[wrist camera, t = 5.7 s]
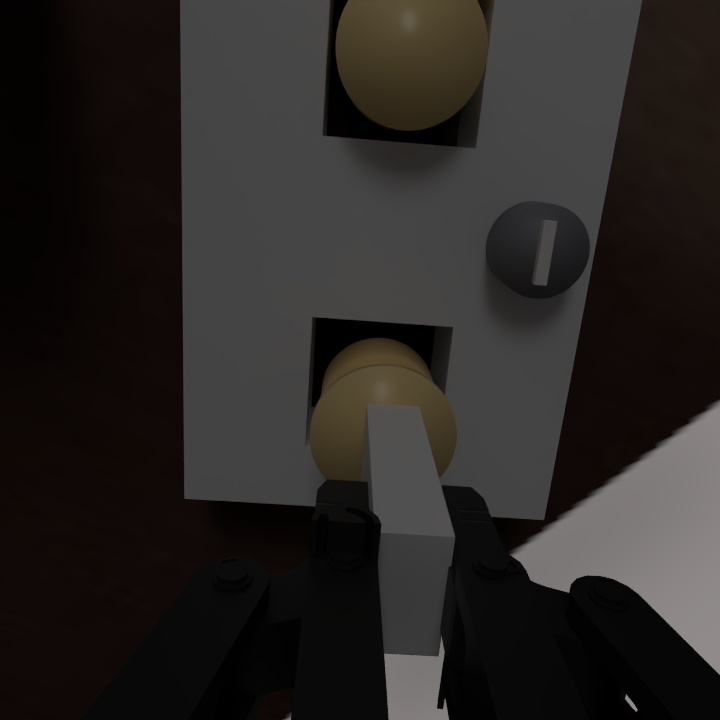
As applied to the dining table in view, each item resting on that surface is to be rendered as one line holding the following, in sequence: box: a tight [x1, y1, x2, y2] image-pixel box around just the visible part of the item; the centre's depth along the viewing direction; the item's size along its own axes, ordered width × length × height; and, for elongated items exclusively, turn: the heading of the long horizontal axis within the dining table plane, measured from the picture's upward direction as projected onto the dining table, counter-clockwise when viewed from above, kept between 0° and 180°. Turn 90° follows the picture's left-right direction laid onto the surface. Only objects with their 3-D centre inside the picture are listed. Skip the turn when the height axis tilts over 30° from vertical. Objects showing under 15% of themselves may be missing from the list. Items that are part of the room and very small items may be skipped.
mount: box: [180, 0, 642, 520], centre depth 22 cm, size 14×21×6 cm, turn 176°
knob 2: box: [310, 338, 457, 481], centre depth 20 cm, size 4×4×4 cm
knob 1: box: [336, 0, 488, 131], centre depth 20 cm, size 4×4×4 cm
